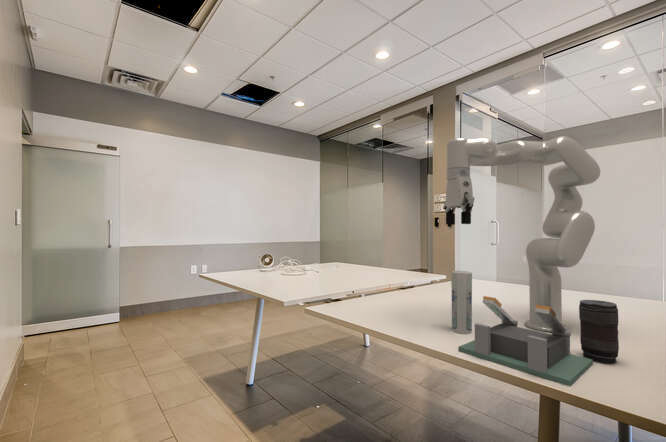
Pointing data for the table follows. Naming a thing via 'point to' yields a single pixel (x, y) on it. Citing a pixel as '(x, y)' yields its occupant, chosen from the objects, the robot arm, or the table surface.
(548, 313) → the strap
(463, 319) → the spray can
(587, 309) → the camera lens
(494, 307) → the strap
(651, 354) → the table surface
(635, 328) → the table surface
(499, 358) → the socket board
